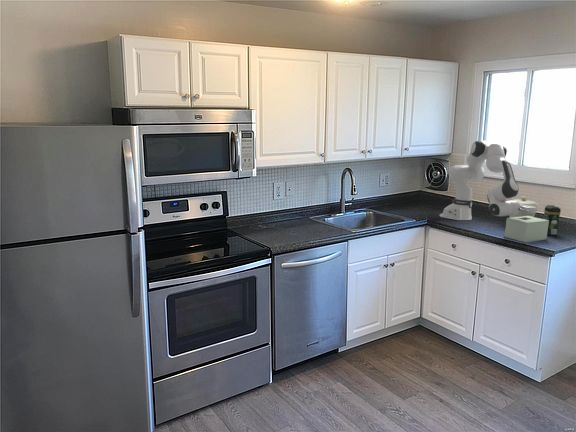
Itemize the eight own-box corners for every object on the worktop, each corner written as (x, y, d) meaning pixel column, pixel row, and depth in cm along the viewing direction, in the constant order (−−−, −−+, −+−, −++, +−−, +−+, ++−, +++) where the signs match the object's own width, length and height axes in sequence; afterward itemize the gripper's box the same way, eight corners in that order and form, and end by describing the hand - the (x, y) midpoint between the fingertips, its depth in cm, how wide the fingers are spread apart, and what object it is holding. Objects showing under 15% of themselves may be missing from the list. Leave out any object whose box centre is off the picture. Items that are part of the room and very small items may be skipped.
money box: (524, 242, 274) (527, 222, 272) (504, 236, 287) (506, 218, 284) (546, 239, 283) (549, 220, 281) (525, 234, 296) (528, 215, 293)
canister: (532, 225, 323) (536, 195, 319) (537, 230, 306) (541, 199, 302) (504, 222, 328) (507, 193, 324) (507, 228, 311) (511, 197, 307)
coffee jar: (539, 231, 303) (543, 204, 299) (551, 232, 302) (556, 204, 299) (545, 235, 294) (550, 206, 290) (558, 236, 293) (563, 207, 289)
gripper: (528, 205, 267) (544, 204, 273) (498, 199, 285) (513, 198, 291) (527, 216, 269) (542, 214, 275) (497, 209, 286) (512, 208, 292)
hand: (527, 206), depth 283 cm, fingers open, 8 cm apart
